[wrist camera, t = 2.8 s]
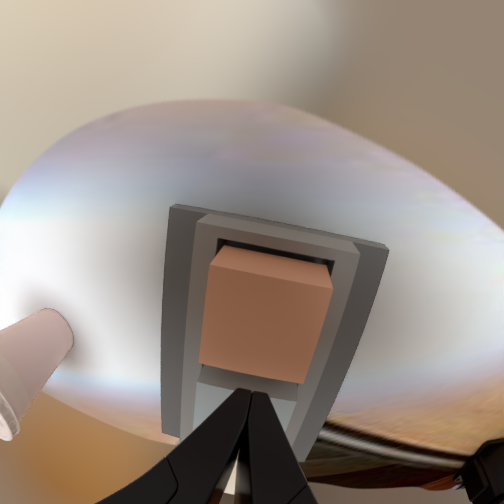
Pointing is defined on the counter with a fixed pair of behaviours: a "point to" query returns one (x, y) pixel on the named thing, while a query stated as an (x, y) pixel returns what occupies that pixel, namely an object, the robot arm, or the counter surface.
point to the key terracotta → (263, 313)
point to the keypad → (275, 243)
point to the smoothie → (29, 363)
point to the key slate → (226, 381)
